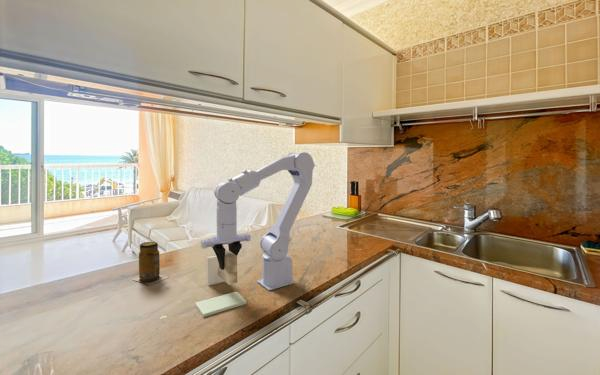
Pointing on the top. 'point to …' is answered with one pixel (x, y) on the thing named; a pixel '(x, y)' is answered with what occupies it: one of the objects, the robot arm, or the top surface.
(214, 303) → the rest board
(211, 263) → the tile
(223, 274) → the tan wooden block
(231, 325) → the top surface
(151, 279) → the condiment
